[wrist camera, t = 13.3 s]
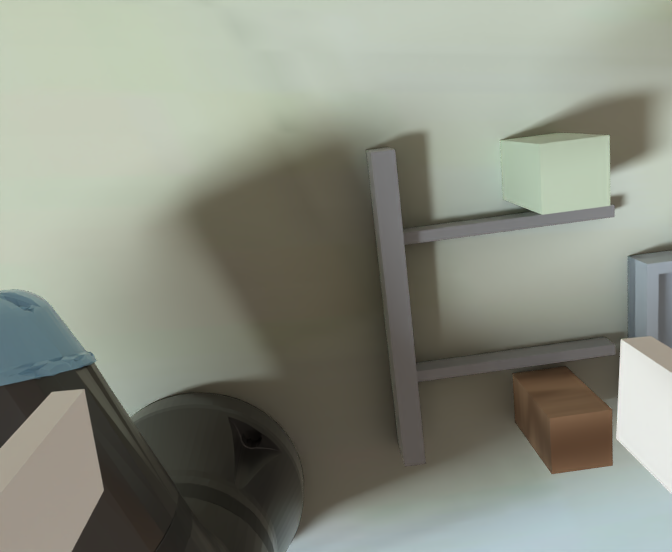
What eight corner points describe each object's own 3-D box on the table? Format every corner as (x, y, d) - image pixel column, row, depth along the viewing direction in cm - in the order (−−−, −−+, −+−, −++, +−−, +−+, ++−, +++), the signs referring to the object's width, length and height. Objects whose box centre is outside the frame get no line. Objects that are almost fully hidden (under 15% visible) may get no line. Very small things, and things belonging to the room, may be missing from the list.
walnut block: (566, 414, 46) (612, 465, 39) (515, 421, 46) (551, 474, 39) (565, 366, 45) (612, 409, 38) (512, 373, 45) (549, 418, 38)
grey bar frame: (606, 415, 46) (626, 435, 43) (398, 444, 46) (404, 466, 43) (602, 119, 40) (625, 119, 38) (365, 150, 40) (371, 152, 37)
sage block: (560, 191, 42) (610, 205, 35) (503, 199, 42) (542, 214, 35) (558, 132, 41) (609, 134, 34) (499, 140, 41) (539, 144, 34)
